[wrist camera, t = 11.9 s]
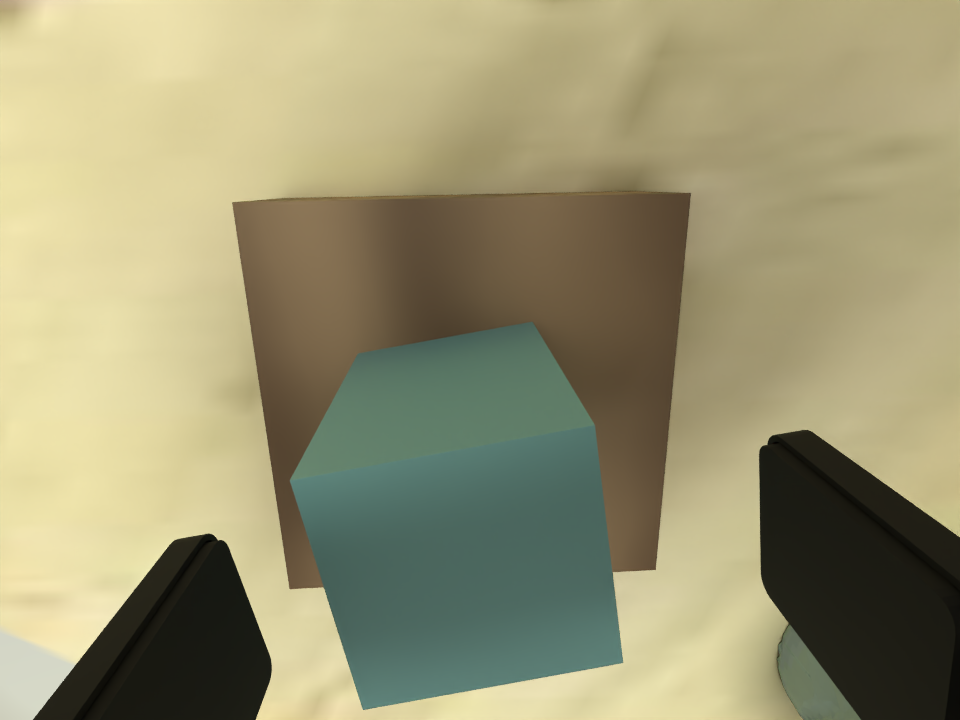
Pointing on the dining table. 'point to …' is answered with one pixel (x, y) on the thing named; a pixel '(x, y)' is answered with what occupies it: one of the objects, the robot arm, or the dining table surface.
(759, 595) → the dining table surface
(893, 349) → the dining table surface
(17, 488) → the dining table surface
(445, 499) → the teal block
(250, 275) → the walnut block
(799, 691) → the grey green cup
